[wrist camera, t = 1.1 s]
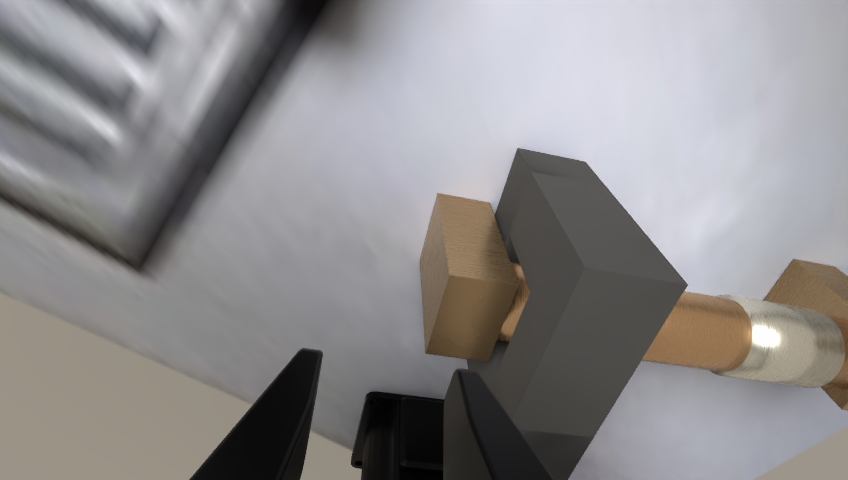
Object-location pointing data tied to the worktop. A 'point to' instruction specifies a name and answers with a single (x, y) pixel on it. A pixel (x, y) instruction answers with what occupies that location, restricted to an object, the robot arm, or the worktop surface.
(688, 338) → the square head rod
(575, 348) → the dark grey square ring
